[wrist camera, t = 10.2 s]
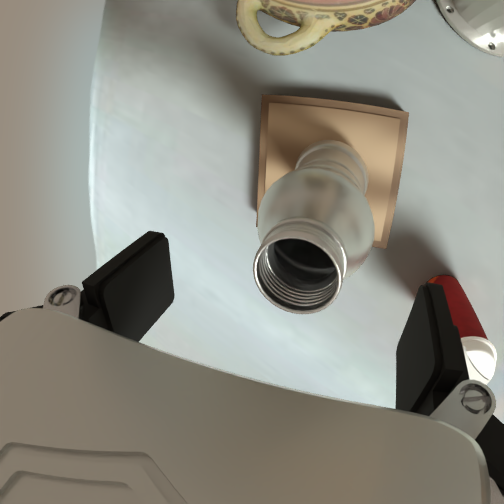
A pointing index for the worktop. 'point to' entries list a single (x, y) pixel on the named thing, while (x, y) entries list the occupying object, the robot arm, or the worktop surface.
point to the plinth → (339, 129)
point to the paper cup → (469, 331)
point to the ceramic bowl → (312, 20)
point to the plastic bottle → (314, 228)
